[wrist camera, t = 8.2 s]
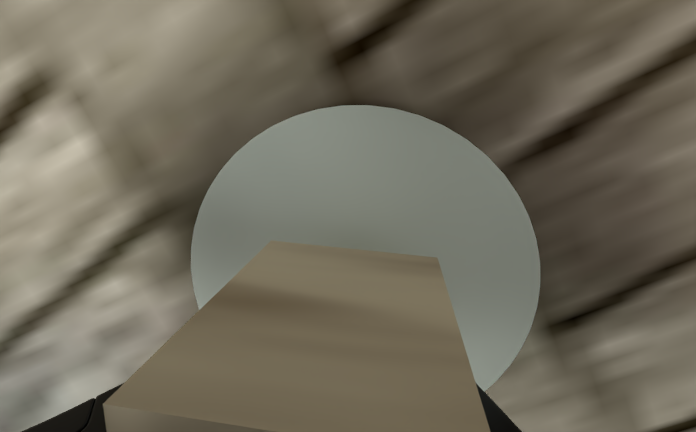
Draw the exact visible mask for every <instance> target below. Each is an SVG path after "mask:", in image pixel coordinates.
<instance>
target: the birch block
mask: <svg viewBox="0 0 696 432" xmlns="http://www.w3.org/2000/svg"><path fill="white" fill-rule="evenodd" d="M103 409H104V416H105V424H106V431H107V432H490V428H489V425H488V422H487V419H486V415H485V412H484V409H483V405H482V402H481V399H480V396H479V392H478V389H477V386H476V382H475V379H474V376H473V373H472V369H471V366H470V363H469V359H468V356H467V353H466V350H465V346H464V343H463V340H462V336H461V333H460V330H459V327H458V323H457V320H456V317H455V314H454V310H453V307H452V304H451V300H450V297H449V294H448V291H447V287H446V284H445V281H444V277H443V274H442V271H441V268H440V264H439V261H438V258H437V257H427V256H417V255H408V254H398V253H388V252H379V251H369V250H359V249H350V248H340V247H330V246H320V245H311V244H301V243H291V242H282V241H272V240H271V241H270V242H269V243H268V244H267V245H266V246H265V247H264V248H263V249H262V250H261V251H260V252H259V253H258V254H257V255H256V256H255V257H254V258H253V259H252V260H251V261H249V262H248V263H247V264H246V265H245V266H244V267H243V268H242V269H241V270H240V271H239V272H238V273H237V274H236V275H235V276H234V277H233V278H232V279H231V280H230V281H229V282H228V283H227V284H226V285H225V286H224V287H223V288H222V289H221V290H220V291H219V292H218V293H217V294H216V295H214V296H213V297H212V298H211V299H210V300H209V301H208V302H207V303H206V304H205V305H204V306H203V307H202V308H201V309H200V310H199V311H198V312H197V313H196V314H195V315H194V316H193V317H192V318H191V319H190V320H189V321H188V322H187V323H186V324H185V325H184V326H183V327H182V328H181V329H180V330H178V331H177V332H176V333H175V334H174V335H173V336H172V337H171V338H170V339H169V340H168V341H167V342H166V343H165V344H164V345H163V346H162V347H161V348H160V349H159V350H158V351H157V352H156V353H155V354H154V355H153V356H152V357H151V358H150V359H149V360H148V361H147V362H146V363H145V364H143V365H142V366H141V367H140V368H139V369H138V370H137V371H136V372H135V373H134V374H133V375H132V376H131V377H130V378H129V379H128V380H127V381H126V382H125V383H124V384H123V385H122V386H121V387H120V388H119V389H118V390H117V391H116V392H115V393H114V394H113V395H112V396H111V397H110V398H108V399H107V400H106V401H105V402H104V403H103Z"/></svg>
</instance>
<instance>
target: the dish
mask: <svg viewBox="0 0 696 432" xmlns="http://www.w3.org/2000/svg"><path fill="white" fill-rule="evenodd" d="M271 240H272V241H282V242H291V243H301V244H311V245H320V246H330V247H340V248H350V249H359V250H369V251H379V252H388V253H398V254H408V255H417V256H427V257H437V258H438V261H439V264H440V268H441V271H442V274H443V277H444V281H445V284H446V287H447V291H448V294H449V297H450V300H451V304H452V307H453V310H454V314H455V317H456V320H457V323H458V327H459V330H460V333H461V336H462V340H463V343H464V346H465V350H466V353H467V356H468V359H469V363H470V366H471V369H472V373H473V376H474V379H475V382H476V383H477V385H478V386H479V387H480V388H481V389H482V390H483V391H486V390H487V389H488V388H489V387H490V386H491V385H492V384H494V383H495V382H496V381H497V380H498V379H499V378H500V376H501V375H502V374H503V373H504V372H505V371H506V370H507V368H508V367H509V366H510V365H511V363H512V362H513V360H514V359H515V357H516V356H517V354H518V353H519V351H520V350H521V348H522V346H523V344H524V342H525V340H526V338H527V336H528V333H529V331H530V329H531V326H532V323H533V320H534V316H535V313H536V310H537V306H538V299H539V292H540V258H539V252H538V245H537V239H536V236H535V233H534V230H533V227H532V224H531V221H530V217H529V215H528V213H527V211H526V209H525V207H524V205H523V203H522V201H521V199H520V197H519V195H518V193H517V192H516V191H515V189H514V188H513V186H512V185H511V183H510V182H509V180H508V179H507V177H506V176H505V175H504V173H503V172H502V171H501V170H500V169H499V168H498V167H497V166H496V165H495V164H494V163H493V162H492V161H491V159H490V158H489V157H488V156H487V155H486V154H484V153H483V152H482V151H481V150H479V149H478V148H477V147H476V146H474V145H473V144H472V143H471V142H470V141H468V140H467V139H466V138H464V137H462V136H461V135H459V134H457V133H456V132H454V131H452V130H450V129H449V128H447V127H445V126H444V125H441V124H439V123H437V122H434V121H432V120H430V119H427V118H425V117H423V116H420V115H417V114H413V113H409V112H406V111H402V110H398V109H395V108H387V107H379V106H371V105H342V106H335V107H328V108H322V109H316V110H313V111H309V112H306V113H303V114H299V115H296V116H293V117H291V118H289V119H286V120H284V121H282V122H280V123H278V124H275V125H273V126H271V127H270V128H268V129H267V130H265V131H263V132H262V133H260V134H259V135H257V136H256V137H254V138H252V139H251V140H250V141H249V142H248V143H247V144H245V145H244V146H243V147H242V148H241V149H240V150H238V151H237V152H236V153H235V154H234V155H233V156H232V157H231V159H230V160H229V161H228V162H227V163H226V164H225V166H224V167H223V168H222V169H221V170H220V172H219V173H218V175H217V176H216V178H215V179H214V181H213V183H212V184H211V186H210V187H209V189H208V191H207V193H206V195H205V198H204V200H203V202H202V204H201V207H200V209H199V213H198V216H197V219H196V223H195V226H194V231H193V238H192V245H191V273H192V281H193V289H194V292H195V296H196V300H197V304H198V308H199V310H200V309H201V308H202V307H203V306H204V305H205V304H206V303H207V302H208V301H209V300H210V299H211V298H212V297H213V296H214V295H216V294H217V293H218V292H219V291H220V290H221V289H222V288H223V287H224V286H225V285H226V284H227V283H228V282H229V281H230V280H231V279H232V278H233V277H234V276H235V275H236V274H237V273H238V272H239V271H240V270H241V269H242V268H243V267H244V266H245V265H246V264H247V263H248V262H249V261H251V260H252V259H253V258H254V257H255V256H256V255H257V254H258V253H259V252H260V251H261V250H262V249H263V248H264V247H265V246H266V245H267V244H268V243H269V242H270V241H271Z"/></svg>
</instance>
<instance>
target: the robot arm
mask: <svg viewBox="0 0 696 432" xmlns="http://www.w3.org/2000/svg"><path fill="white" fill-rule="evenodd" d="M123 384H124V383H123ZM123 384H121V385H119V386H117V387H115V388H113V389H111V390H109V391H107V392H105V393H103V394H100V395H98V396H97V397H96V399H94V398H92V399H90V400H88V401H86V402H84V403H82V404H80V405H78V406H76V407H74V408H72V409H70V410H68V411H66V412H63V413H61V414H59V415H57V416H55V417H53V418H51V419H49V420H47V421H44V422H42V423H40V424H38V425H35V426H33V427H31V428H29V429H26V430H24V431H22V432H107V431H106V424H105V416H104V409H103V403H104V402H105V401H106V400H107V399H108V398H110V397H111V396H112V395H113V394H114V393H115V392H116V391H117V390H118V389H119V388H120V387H121V386H122V385H123ZM476 386H477V389H478V392H479V396H480V399H481V402H482V405H483V409H484V412H485V415H486V419H487V422H488V425H489V428H490V432H522V431H521V430H520V429H519V428H518V427H517V426H516V425H515V424H514V423H513V422H512V421H511V420H510V419H509V418H508V416H507V415H506V414H505V413H504V412H503V411H502V410H501V409H500V408H499V407H498V406H497V405H496V404H495V403H494V402H493V400H492V399H491V398H490V397H489V396H488V395H487V394H486V393H485V392H484V391H483V390H482V389H481V388H480V387H479V386H478V385H477V383H476Z"/></svg>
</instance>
